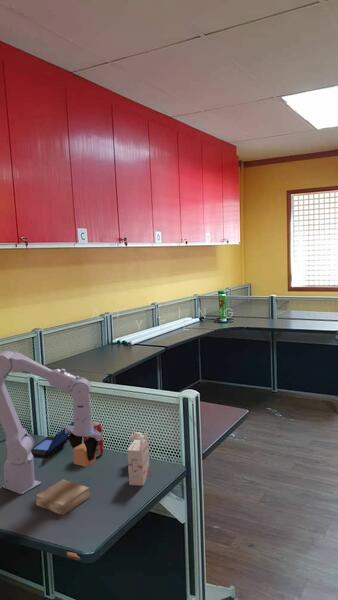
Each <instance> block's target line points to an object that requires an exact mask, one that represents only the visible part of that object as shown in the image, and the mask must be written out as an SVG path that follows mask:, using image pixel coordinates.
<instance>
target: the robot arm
mask: <svg viewBox="0 0 338 600" xmlns="http://www.w3.org/2000/svg"><path fill="white" fill-rule="evenodd" d="M23 371H24V372H27V373H29V374H32V375H34V376H36V377H39V378H42V379H44V380H47V381H48V384H49V386H51V387H53V388H56V389H57V390H60V391H62V392H64V393H67V394H70V397H71V398H72V415H73V416H72V417H73V421H74V426H70V425H69V424H68V425H69V426H68V425H66V426H65V427H64V428H65V433H69V435H68V437H67V439H68V441H67V442H69V444H70V446H71V447H72V449H73V448H75V447H77V446H79V445H80V444H82V443H84V444H85V446H86V449H87V457H88V461H91V460H93V459H94V456H95V451H96V448H97V445H98V443H99V441H100V440H102V439H103V440H104V432H103V433H100V432H98V431H96V430H95V429H94V427H93V426H92V420H93V416H92V415H93V414H92V413H93V412H92V402H91V394H90V392H91V389H92V384H91V382H90V380H89V379H87V378H86V377H84V376H81V377H80V375H74V374H72V373H69V372H67V369H65V368H61V369H60V368H56V369H51V368H49V367H48V366H45V365H44V364H41V363H39V362H37V361H36V360H34V359H31V358H30V357H27V356H26V355H25V354H23V353H21V352H16V350H13V349H5V350H3V351H1V352H0V424H1V426H2V429H3V431H4V434H5V447H6V451H7V452H6V458H7V459H6V460H5V462H4V465H3V477H4V484H3V485H2V488H4V489H7V490H9V491H11V492H14V493H17V494H20V495H24V494H25V493H27V492H29V491H30V490H32V489H35V488H36V487H37V486H39V485H41V484H42V481H39V480H36V479H35V478H36V476H35V465H34V464H35V463H34V461H35V460H34V456H33V455H32V453H31V450H32V449H33V447H34V446H35V440H34V439H33V437H32V436H31V435H30V434H29V433H28V431H27V429H26V428H25V427H23V426H22V423H21V421H20V418H19V415H18V414H17V411H16V408H15V406H14V404H13V401H12V399H11V395H10V393H9V391H8V389H7V385H6V383H5V382H6V380H7V378H8V376H9V374H10V373H11V374H15V373H19V372H23ZM83 436H84V437H88V439H87V440H85V441H84V440H83Z"/></svg>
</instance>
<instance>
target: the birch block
mask: <svg viewBox="0 0 338 600" xmlns="http://www.w3.org/2000/svg"><path fill="white" fill-rule="evenodd" d="M90 497H91V496H90V487H88V486H85V485H82V484H79V483H76V482H73V481H69V480H67V479H61V480H59V481H58V482H55V483H54V484H52V485H51V486H49V487H48V488H46V489H44V490H42V491H40V492H39V493H37V494H35V501H36V503H35V504H36V506H38V507H40V508H42V509H43V508H44V509H45V510H49V511H51V512H54V513H56V514H59V515H61V516H64V515H66V514H67V513H68V512H71V511H72V510H73V509H74V508H76V507H77V506H79V505H81V504H82V503H84V502H85V501H87V500H88V499H90Z"/></svg>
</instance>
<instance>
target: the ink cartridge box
mask: <svg viewBox="0 0 338 600" xmlns="http://www.w3.org/2000/svg"><path fill="white" fill-rule="evenodd" d="M126 452H127V467H128V468H127V471H128V485H129V486H137V487H138V486H139V487H141V486H142V487H143V486H144V485H145V483H146V481H147V479H148V477H149V475H150V454H149V453H150V452H149V438H148V432H147V431H146V432H145V433H144V434H143V437H142V439H141V440H134V441H133V440H132V443H131V444H130V445H129V447H128V448H127V449H126Z"/></svg>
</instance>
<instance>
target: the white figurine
mask: <svg viewBox="0 0 338 600" xmlns="http://www.w3.org/2000/svg"><path fill="white" fill-rule="evenodd" d="M130 431H131V432H132V433H133V434H131V435H130V436H129V442H130V443H131V442H133V441H134V440H141V439H142V437H143V436H144V434H142V433H141V432H140V431H137V432H136V430H135V429H133V428H130Z"/></svg>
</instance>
